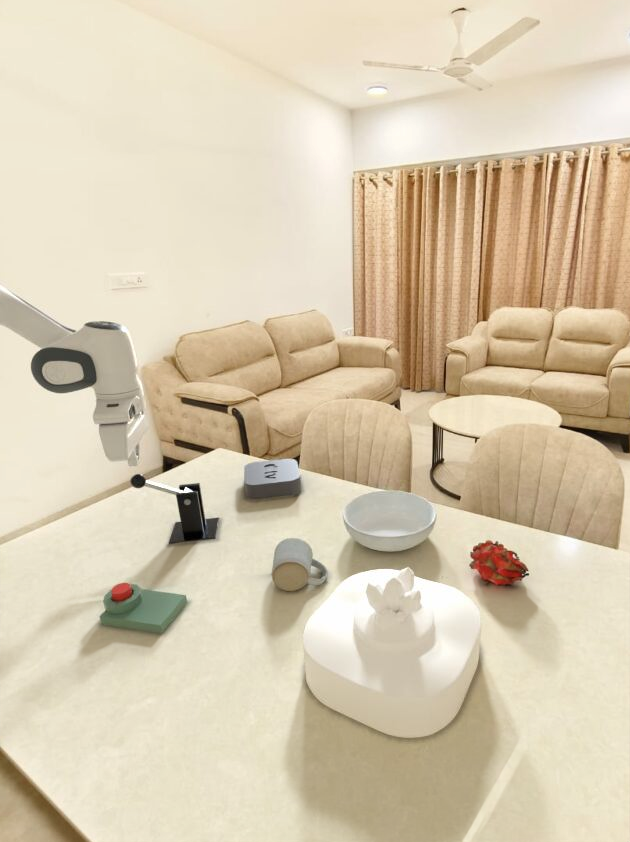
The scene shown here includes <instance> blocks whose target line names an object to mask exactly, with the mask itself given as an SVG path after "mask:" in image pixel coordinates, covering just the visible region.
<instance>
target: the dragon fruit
mask: <svg viewBox="0 0 630 842" xmlns="http://www.w3.org/2000/svg"><path fill="white" fill-rule="evenodd" d="M469 552H470V554H469V556H470V558H471V559H472V560H473V561H471V562H470V563H469V564H468V565H469V567H470V569H471V570H477V572H478V573H479V575H480V577H481V579H482V582H483V584H484V585H487V584H488V583H489V582H491V583H493V584H495V585H496V586H498V587H502V585H505V587H508V588H513V587H514V585H512V584H514V583H515V582H522V580H523V579H524V578H525V577H526V576H528V577H529V576H530V573H529V572H530V570H529V568H528V566H527V565H526V564H525V563H524V562H522V561H521V559H520V557H519V556H518V553H516V551H513V550H508V548H506V547H505V545H504V544H502V543H499V541H498V540H496V541H494V542H493V540H490V539H488V540H485V542H479V543H478V544H477V545H474V546H473V548H472V551H469Z"/></svg>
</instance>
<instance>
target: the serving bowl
mask: <svg viewBox="0 0 630 842" xmlns="http://www.w3.org/2000/svg"><path fill="white" fill-rule="evenodd" d="M342 519H343V524H344V527H345V529H346V531H347V533H348V535H349V536H350V537H351V538H352V539H353V540H354V541H356V543H358V544H360V545H361V546H363V547H366V548H368V549H370V550H374V551H379V552H391V553H392V552H402V551H405V550H409V549H412V548H415V547H416V546H419V545H420V544H421V543H423V542H424V541H425V540H426V539H427V538H428V537H430V535H431V533H432V532H433V530H434V527H435V524H436V521H437V509H436V507H435V506H434V505H433V504H432V502H430V501H429V500H428V499H426V498H425V497H422V496H421V495H418V494H415V493H411V492H408V491H402V490H392V489H391V490H388V489H387V490H377V491H376V490H375V491H370V492H366V493H362V494H360V495H358V496H355V497H354V498H352V499H351V500H350V501H348V502H347V503H346V504H345V506H344V508H343V509H342Z"/></svg>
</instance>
